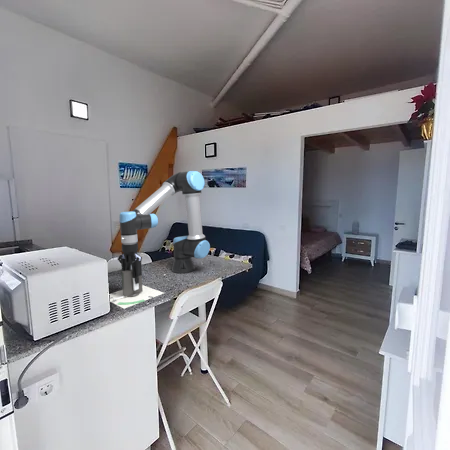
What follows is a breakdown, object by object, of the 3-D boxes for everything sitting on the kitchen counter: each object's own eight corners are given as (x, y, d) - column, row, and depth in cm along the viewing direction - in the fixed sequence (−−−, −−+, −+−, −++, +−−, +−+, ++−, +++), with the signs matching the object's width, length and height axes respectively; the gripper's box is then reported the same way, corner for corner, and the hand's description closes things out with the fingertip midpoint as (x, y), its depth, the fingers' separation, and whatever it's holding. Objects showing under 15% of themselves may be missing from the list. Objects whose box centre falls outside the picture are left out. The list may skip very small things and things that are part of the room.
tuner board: (140, 286, 143) (140, 283, 143) (165, 295, 129) (164, 292, 129) (100, 299, 126) (100, 296, 126) (124, 311, 112) (124, 308, 112)
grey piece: (138, 290, 133) (137, 267, 131) (144, 293, 128) (142, 269, 127) (111, 298, 123) (109, 273, 122) (116, 301, 119) (114, 275, 117)
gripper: (111, 243, 125) (115, 288, 128) (135, 245, 117) (139, 294, 120) (124, 240, 132) (127, 283, 135) (147, 243, 123) (150, 289, 126)
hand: (133, 288), depth 127 cm, fingers closed on grey piece, 4 cm apart
